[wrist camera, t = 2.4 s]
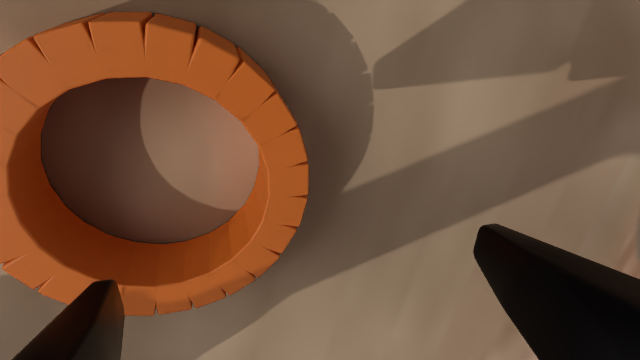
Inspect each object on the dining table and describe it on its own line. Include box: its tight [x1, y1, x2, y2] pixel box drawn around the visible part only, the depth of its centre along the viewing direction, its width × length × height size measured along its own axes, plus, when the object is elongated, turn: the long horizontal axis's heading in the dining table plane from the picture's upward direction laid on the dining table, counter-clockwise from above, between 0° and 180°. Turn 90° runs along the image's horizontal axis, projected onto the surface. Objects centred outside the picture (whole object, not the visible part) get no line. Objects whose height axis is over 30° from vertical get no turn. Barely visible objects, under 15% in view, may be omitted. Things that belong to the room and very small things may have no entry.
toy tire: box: [0, 12, 309, 316], centre depth 13 cm, size 10×10×2 cm
